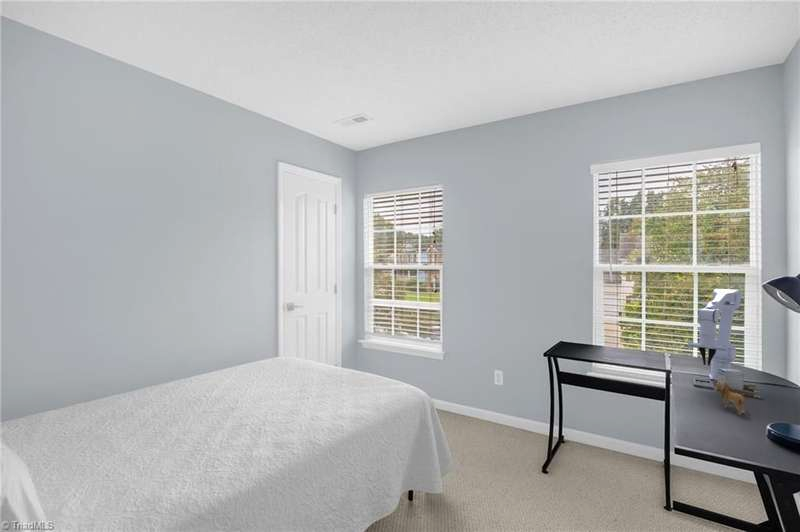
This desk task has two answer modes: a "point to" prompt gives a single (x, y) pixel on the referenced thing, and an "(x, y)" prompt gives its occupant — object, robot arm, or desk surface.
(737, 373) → the medicine box
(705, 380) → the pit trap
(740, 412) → the lion figurine
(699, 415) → the desk surface
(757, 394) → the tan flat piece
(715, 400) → the desk surface
